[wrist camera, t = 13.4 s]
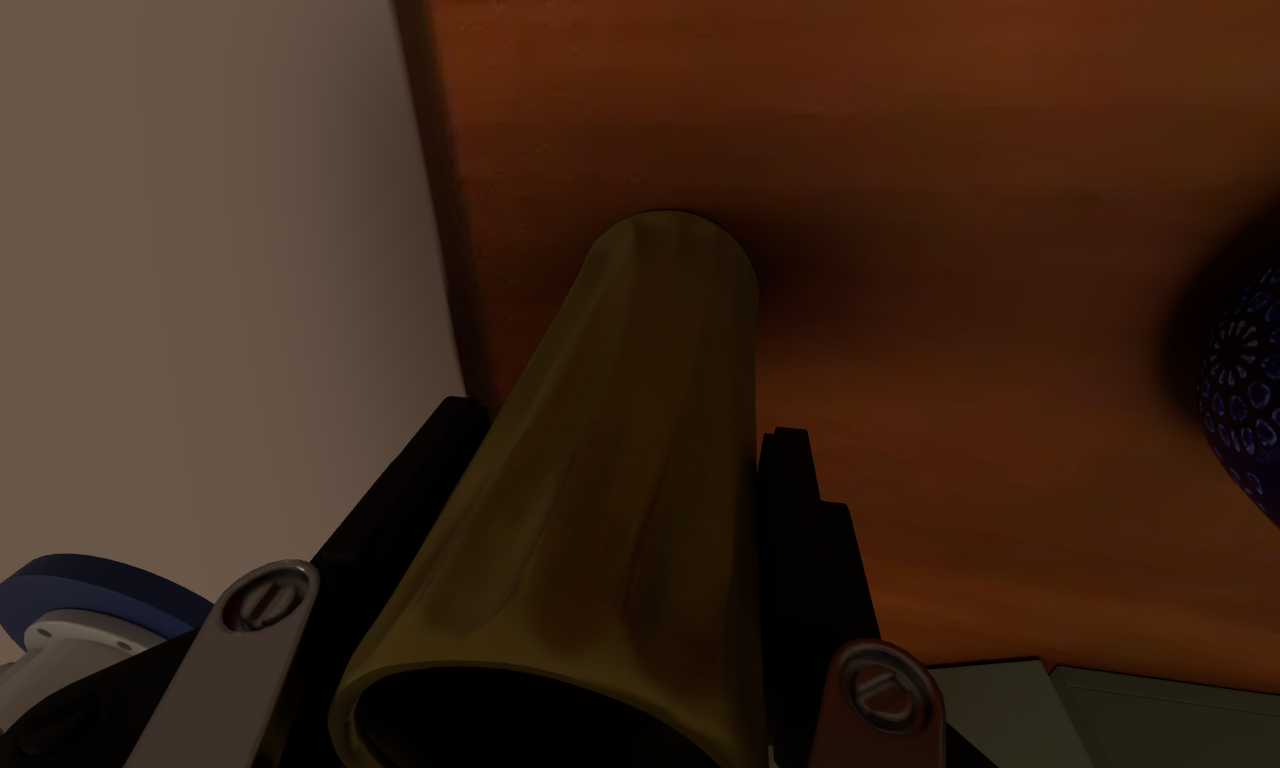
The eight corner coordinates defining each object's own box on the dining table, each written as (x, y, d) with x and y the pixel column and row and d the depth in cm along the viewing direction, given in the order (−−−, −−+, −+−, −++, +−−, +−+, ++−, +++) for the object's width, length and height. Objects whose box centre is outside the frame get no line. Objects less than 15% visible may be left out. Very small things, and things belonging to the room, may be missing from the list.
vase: (570, 357, 20) (327, 822, 8) (588, 189, 17) (214, 558, 5) (732, 392, 20) (729, 926, 8) (782, 229, 16) (918, 724, 4)
